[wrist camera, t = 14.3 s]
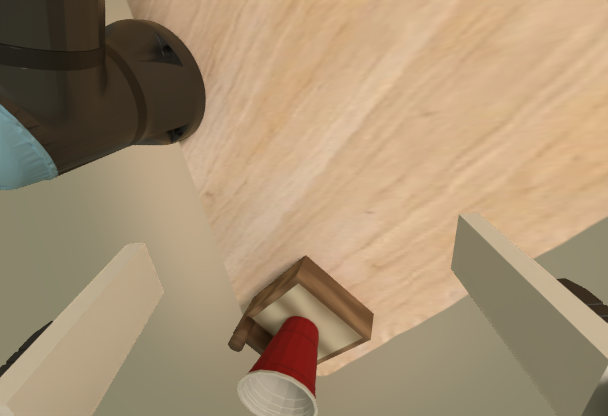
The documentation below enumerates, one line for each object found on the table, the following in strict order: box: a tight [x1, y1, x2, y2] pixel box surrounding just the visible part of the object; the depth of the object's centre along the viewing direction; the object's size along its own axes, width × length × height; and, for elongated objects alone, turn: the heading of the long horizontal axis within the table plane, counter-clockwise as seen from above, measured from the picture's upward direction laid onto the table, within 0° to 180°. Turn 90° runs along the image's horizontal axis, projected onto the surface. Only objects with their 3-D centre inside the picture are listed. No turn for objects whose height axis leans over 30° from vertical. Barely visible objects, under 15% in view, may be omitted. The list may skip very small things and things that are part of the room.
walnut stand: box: [228, 256, 374, 365], centre depth 48 cm, size 16×15×10 cm
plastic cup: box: [237, 316, 319, 416], centre depth 43 cm, size 11×11×12 cm
